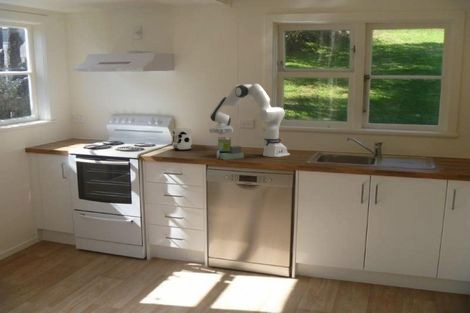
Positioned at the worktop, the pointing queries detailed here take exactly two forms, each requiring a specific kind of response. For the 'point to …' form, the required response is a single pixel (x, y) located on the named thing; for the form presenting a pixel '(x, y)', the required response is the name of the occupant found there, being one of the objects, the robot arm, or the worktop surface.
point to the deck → (231, 153)
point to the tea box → (224, 145)
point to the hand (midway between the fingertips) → (221, 131)
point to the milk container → (182, 139)
